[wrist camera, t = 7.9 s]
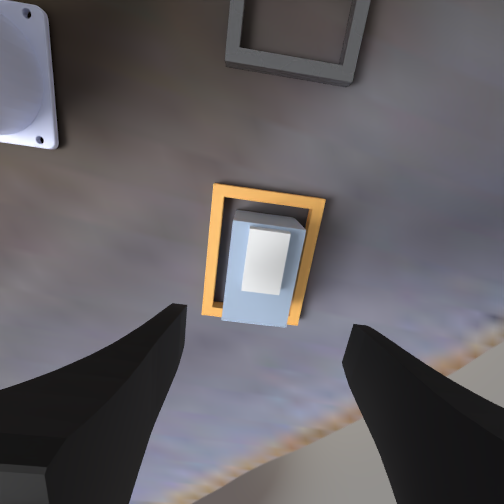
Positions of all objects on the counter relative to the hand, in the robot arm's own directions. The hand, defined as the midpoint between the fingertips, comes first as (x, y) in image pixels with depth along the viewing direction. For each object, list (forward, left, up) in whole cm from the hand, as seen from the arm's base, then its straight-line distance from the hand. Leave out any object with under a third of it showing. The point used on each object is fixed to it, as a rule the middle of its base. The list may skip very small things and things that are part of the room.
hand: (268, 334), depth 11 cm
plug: (0, 0, -10) cm, 10 cm away
